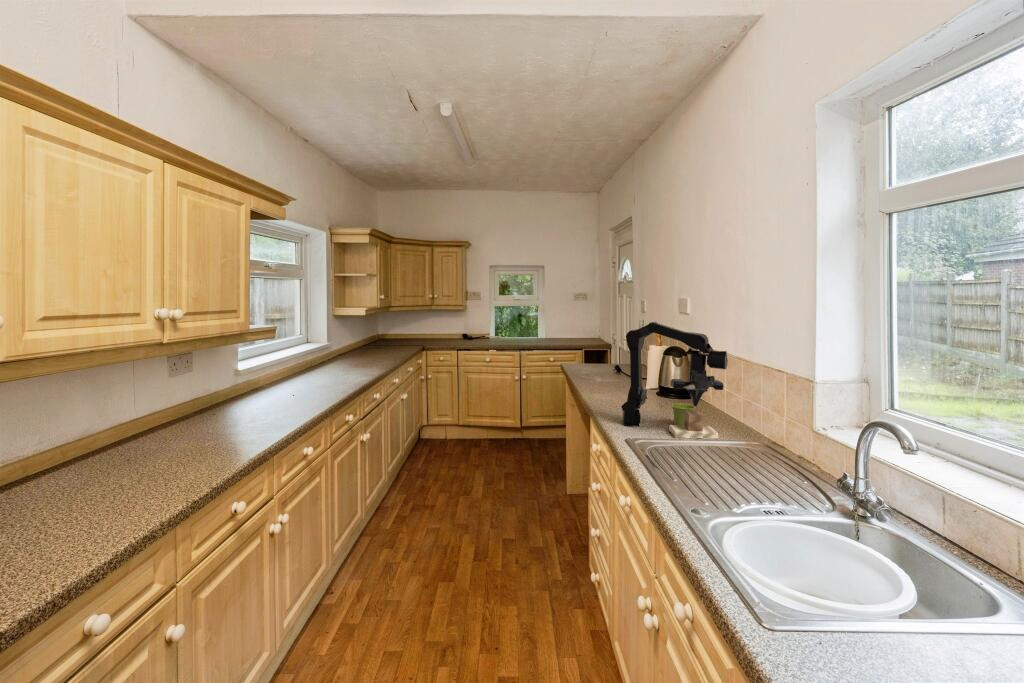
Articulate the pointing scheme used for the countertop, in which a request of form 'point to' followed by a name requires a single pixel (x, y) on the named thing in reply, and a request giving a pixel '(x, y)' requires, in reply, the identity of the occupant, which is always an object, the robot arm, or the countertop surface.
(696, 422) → the walnut peg
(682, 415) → the plant pot
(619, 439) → the countertop surface
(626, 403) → the robot arm
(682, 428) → the birch board
